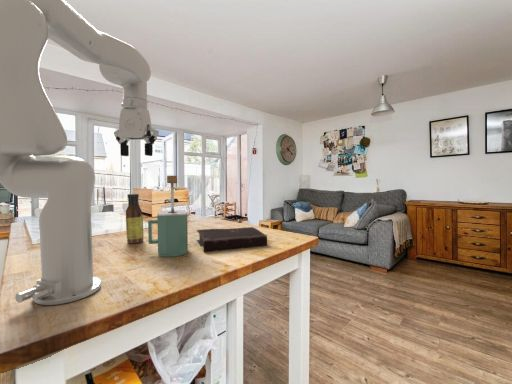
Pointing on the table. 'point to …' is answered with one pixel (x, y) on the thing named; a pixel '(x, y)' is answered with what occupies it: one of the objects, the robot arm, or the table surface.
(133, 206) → the sauce bottle
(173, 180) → the plunger
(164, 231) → the press carafe
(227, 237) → the diary
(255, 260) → the table surface
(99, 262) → the table surface
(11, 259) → the table surface
